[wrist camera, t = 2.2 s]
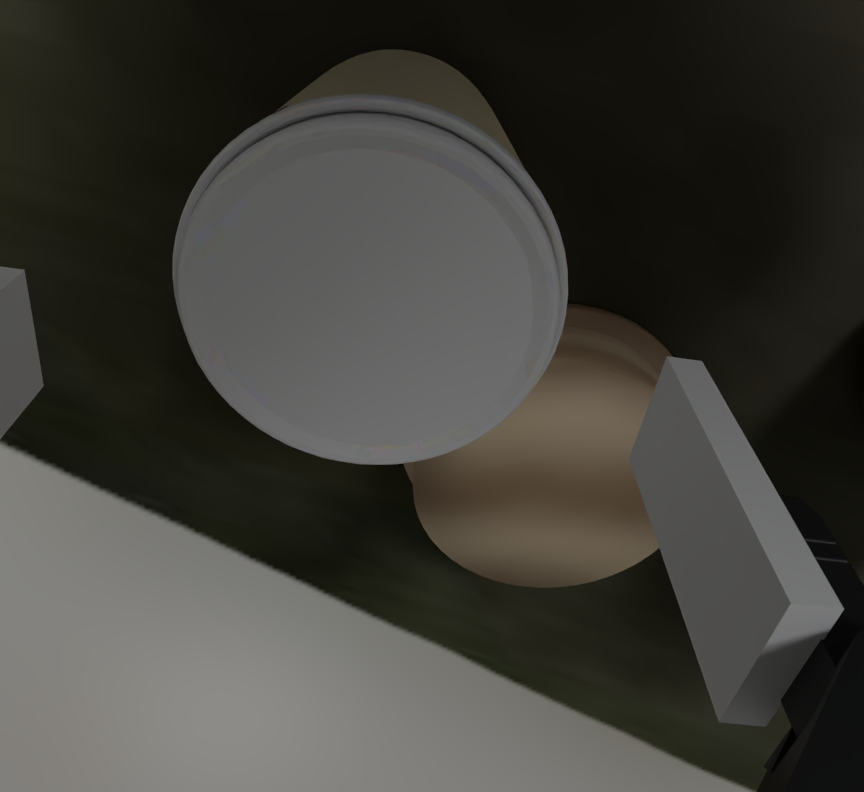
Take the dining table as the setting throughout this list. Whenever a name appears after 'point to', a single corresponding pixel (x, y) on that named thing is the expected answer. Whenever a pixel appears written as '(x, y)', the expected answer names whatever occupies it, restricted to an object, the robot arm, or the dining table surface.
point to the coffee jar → (863, 392)
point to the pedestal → (554, 467)
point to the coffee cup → (372, 266)
